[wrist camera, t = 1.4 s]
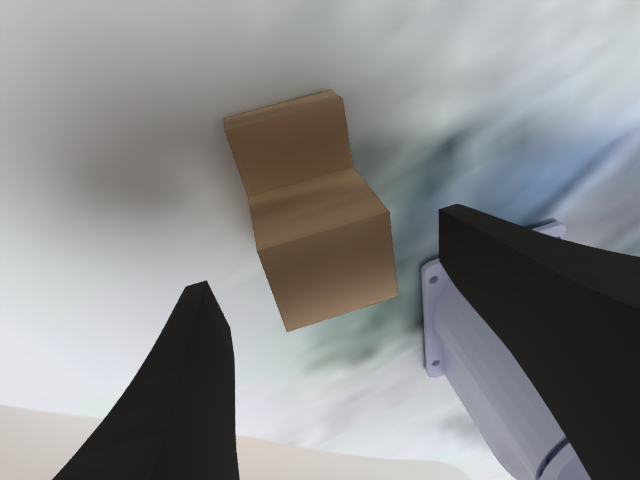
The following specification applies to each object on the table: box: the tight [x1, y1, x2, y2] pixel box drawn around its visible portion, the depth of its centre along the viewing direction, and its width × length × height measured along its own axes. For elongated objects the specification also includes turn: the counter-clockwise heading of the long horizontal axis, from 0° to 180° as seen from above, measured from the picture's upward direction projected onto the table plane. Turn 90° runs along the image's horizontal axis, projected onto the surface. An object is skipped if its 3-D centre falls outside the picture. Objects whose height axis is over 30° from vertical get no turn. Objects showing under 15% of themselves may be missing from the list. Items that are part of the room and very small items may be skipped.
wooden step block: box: [224, 90, 398, 332], centre depth 13 cm, size 6×4×5 cm, turn 11°
